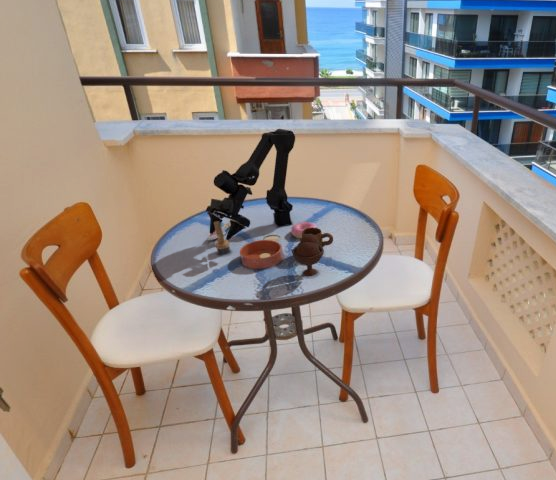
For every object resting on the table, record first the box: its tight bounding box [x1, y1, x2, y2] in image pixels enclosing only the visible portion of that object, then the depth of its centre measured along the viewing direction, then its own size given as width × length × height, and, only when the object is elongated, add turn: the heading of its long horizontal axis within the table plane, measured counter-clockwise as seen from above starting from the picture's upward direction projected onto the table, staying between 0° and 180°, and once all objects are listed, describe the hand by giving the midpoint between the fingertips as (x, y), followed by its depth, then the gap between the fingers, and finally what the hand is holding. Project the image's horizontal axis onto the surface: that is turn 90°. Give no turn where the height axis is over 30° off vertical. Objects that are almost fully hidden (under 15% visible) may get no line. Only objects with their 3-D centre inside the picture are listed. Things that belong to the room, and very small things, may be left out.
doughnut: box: [290, 221, 318, 239], centre depth 174 cm, size 11×11×4 cm
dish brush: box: [214, 221, 231, 256], centre depth 157 cm, size 5×5×13 cm
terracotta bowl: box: [239, 239, 284, 270], centre depth 156 cm, size 15×15×4 cm
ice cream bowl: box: [291, 234, 325, 277], centre depth 144 cm, size 11×11×15 cm
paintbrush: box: [206, 220, 234, 241], centre depth 175 cm, size 4×3×20 cm
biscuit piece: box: [259, 253, 270, 258], centre depth 156 cm, size 4×4×1 cm
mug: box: [302, 227, 334, 249], centre depth 158 cm, size 12×8×9 cm, turn 82°
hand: (218, 236), depth 157 cm, fingers open, 9 cm apart
